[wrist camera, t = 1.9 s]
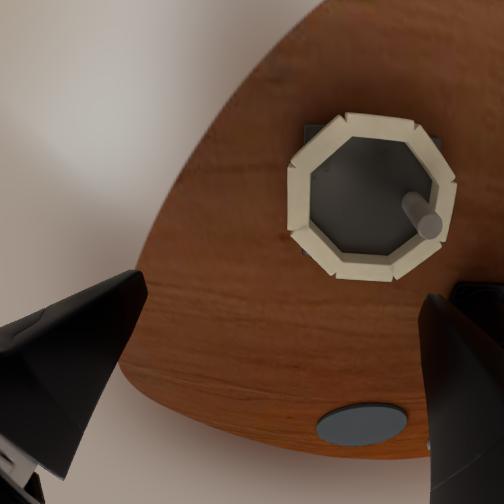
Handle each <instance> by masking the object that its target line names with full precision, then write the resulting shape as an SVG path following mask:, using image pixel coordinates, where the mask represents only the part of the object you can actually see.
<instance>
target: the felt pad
mask: <svg viewBox="0 0 504 504" xmlns="http://www.w3.org/2000/svg"><path fill="white" fill-rule="evenodd" d="M406 424H407V415H406V413H405V412H404V411H403V410H402V409H401V408H399V407H397V406H393V405H389V404H382V403H366V404H357V405H352V406H347V407H343V408H340V409H337V410H334V411H332V412H330V413H328V414H326V415H325V416H323V417H322V418H321V419H320V420H319V422H318V424H317V428H316V431H317V434H318V435H319V436H320V437H321V438H322V439H323V440H325V441H327V442H330V443H333V444H337V445H342V446H364V445H370V444H375V443H379V442H382V441H385V440H388V439H390V438H392V437H394V436H395V435H397V434H398V433H400V432H401V431H402V430H403V429H404V428H405V426H406Z"/></svg>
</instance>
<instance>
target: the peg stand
mask: <svg viewBox="0 0 504 504" xmlns="http://www.w3.org/2000/svg"><path fill="white" fill-rule="evenodd" d="M326 125H327V124H312V123H306V124H304V146H305V145H306V144H307V143H308V142H309V141H310V140H311V139H312V138H313V137H314V136H315V135H316V134H317V133H318V132H320V131H321V130H322V129H323V128H324V127H325V126H326ZM428 136H429V135H428ZM429 137H430V138H431V140H432V141H433V143H434V144H435V146H436V147H437V148H438V150H439V151H440V153H441V141H442V140H441V139H440V138H438V137H435V136H429ZM431 187H432V179H431V178H430V176H429V175H428V173H427V172H426V170H425V169H424V168H423V166H422V165H421V163H420V162H419V161H418V159H417V158H416V157H415V155H414V154H413V152H412V151H411V150H410V149H409V147H408V146H407V145H406V143H405V142H401V141H393V140H385V139H376V138H366V137H355V136H352V137H351V138H350V139H349V140H347V141H346V142H345V143H344V144H343V145H342V146H341V147H340V148H338V149H337V150H336V151H335V152H334V153H333V154H332V155H331V156H330V157H328V158H327V159H326V160H325V161H324V162H323V163H322V164H321V165H320V166H318V167H317V168H316V169H315V170H314V171H313V172H312V173H311V196H310V220H311V221H312V222H313V223H314V224H315V225H316V226H317V227H318V228H319V229H320V230H321V231H322V232H323V233H324V234H325V235H326V236H327V237H328V238H329V239H330V240H331V241H332V243H333V244H334V245H335V246H336V247H337V248H338V249H339V250H340V251H341V252H342V253H354V254H369V255H383V256H388V255H390V254H391V253H392V252H394V251H395V250H396V249H398V248H399V247H400V246H402V245H403V244H404V243H406V242H407V241H408V240H409V239H411V238H412V237H413V236H415V235H416V234H417V233H419V235H420V236H421V237H422V238H424V239H427V240H430V239H434V238H436V237H437V236H438V235H439V234H440V233H441V231H442V227H443V223H442V219H441V218H440V216H439V215H438V214H437V213H436V212H435V211H434V209H433V208H432V207H431V206H430V205H429V200H430V194H431ZM302 254H303V255H309V254H308V253H307V252H306V251H305V250H304V249H303V248H302Z"/></svg>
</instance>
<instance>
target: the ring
mask: <svg viewBox="0 0 504 504" xmlns="http://www.w3.org/2000/svg"><path fill="white" fill-rule="evenodd" d="M352 136H355V137H366V138H376V139H385V140H393V141H401V142H405V143H406V145H407V146H408V147H409V149H410V150H411V151H412V152H413V154H414V155H415V157H416V158H417V159H418V161H419V162H420V163H421V165H422V166H423V168H424V169H425V170H426V172H427V173H428V175H429V176H430V178H431V179H432V187H431V194H430V200H429V205H430V206H431V207H432V208H433V209H434V211H435V212H436V213H437V214H438V215H439V216H440V218H441V219H442V223H443V227H442V231H441V233H440V234H439V235H438V236H437V237H436V238H434V239H430V240H427V239H424V238H422V237H421V236H420V235H419V233H417V234H416V235H415V236H413V237H412V238H411V239H409V240H408V241H407V242H406V243H404V244H403V245H402V246H400V247H399V248H398V249H396V250H395V251H394V252H392V253H391V254H390V255H388V256H383V255H369V254H354V253H342V252H341V251H340V250H339V249H338V248H337V247H336V246H335V245H334V244H333V243H332V241H331V240H330V239H329V238H328V237H327V236H326V235H325V234H324V233H323V232H322V231H321V230H320V229H319V228H318V227H317V226H316V225H315V224H314V223H313V222H312V221H311V220H310V196H311V173H312V172H313V171H314V170H315V169H316V168H317V167H318V166H320V165H321V164H322V163H323V162H324V161H325V160H326V159H327V158H328V157H330V156H331V155H332V154H333V153H334V152H335V151H336V150H337V149H338V148H340V147H341V146H342V145H343V144H344V143H345V142H346V141H347V140H349V139H350V138H351V137H352ZM455 178H456V177H455V175H454V173H453V171H452V170H451V168H450V167H449V165H448V164H447V162H446V160H445V159H444V157H443V156H442V154H441V153H440V151H439V150H438V148H437V147H436V146H435V144H434V143H433V141H432V140H431V138H430V137H429V136H428V134H427V133H426V132H425V130H424V129H423V128H422V126H421V125H419V124H415V123H414V121H413V120H409V119H404V118H397V117H389V116H381V115H372V114H362V113H351V112H345V119H344V118H343V117H342V116H340V115H337V116H336V117H335V118H334V119H333V120H332V121H330V122H329V123H328V124H327V125H326V126H325V127H324V128H323V129H322V130H321V131H320V132H318V133H317V134H316V135H315V136H314V137H313V138H312V139H311V140H310V141H309V142H308V143H307V144H306V145H305V146H303V147H302V148H301V149H300V150H299V151H298V152H297V153H296V154H295V155H294V156H293V157H292V159H291V163H290V164H289V166H288V168H287V191H288V223H287V229H288V230H291V234H290V236H291V237H292V238H293V239H294V240H295V241H296V242H297V243H298V244H299V245H300V246H301V247H302V248H303V249H304V250H305V251H306V252H307V253H308V254H309V255H310V256H311V257H312V258H313V259H314V260H315V261H316V262H317V263H318V264H319V265H320V266H321V267H322V268H323V269H324V270H325V271H326V272H327V273H328V274H329V275H330V276H332V275H333V274H334V273H336V278H338V279H353V280H369V281H385V282H391V281H392V278H393V276H394V277H395V278H396V279H397V280H398V279H399V278H401V277H402V276H404V275H405V274H406V273H408V272H409V271H411V270H412V269H413V268H415V267H416V266H417V265H419V264H420V263H422V262H423V261H424V260H426V259H427V258H428V257H430V256H431V255H432V254H433V253H435V252H436V251H437V250H439V249H440V248H441V247H442V245H441V243H440V242H439V241H442V242H446V238H447V234H448V230H449V225H450V221H451V216H452V211H453V206H454V201H455V195H456V189H457V183H455V182H454V181H453V180H454V179H455Z"/></svg>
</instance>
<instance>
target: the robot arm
mask: <svg viewBox="0 0 504 504" xmlns="http://www.w3.org/2000/svg"><path fill="white" fill-rule="evenodd" d="M461 287H462V288H461ZM459 288H461V289H460V290H459ZM147 296H148V290H147V287H146V283H145V280H144V276H143V273H142V272H141V271H139V270H128V271H126V272H123V273H121V274H119V275H117V276H114V277H112V278H110V279H107V280H105V281H103V282H101V283H99V284H96V285H94V286H92V287H90V288H87V289H85V290H83V291H81V292H78V293H76V294H74V295H72V296H70V297H68V298H65V299H63V300H61V301H59V302H57V303H54V304H52V305H50V306H48V307H46V308H44V309H41V310H39V311H37V312H35V313H33V314H31V315H28V316H26V317H24V318H22V319H19V320H17V321H15V322H12V323H10V324H7V325H5V326H3V327H0V504H45V500H44V496H43V491H42V488H41V483H40V478H39V475H38V474H37V473H36V472H34V470H35V469H36V467H37V465H38V464H39V465H40V466H41V467H43V468H44V469H46V470H47V471H49V472H50V473H51V474H53V475H55V476H56V477H58V478H59V479H61V480H62V481H64V479H65V477H66V475H67V473H68V470H69V467H70V465H71V462H72V460H73V457H74V455H75V453H76V450H77V448H78V445H79V443H80V441H81V439H82V436H83V434H84V431H85V429H86V427H87V425H88V422H89V420H90V418H91V416H92V413H93V411H94V409H95V407H96V405H97V403H98V401H99V399H100V396H101V394H102V392H103V390H104V388H105V386H106V384H107V382H108V380H109V378H110V376H111V374H112V372H113V370H114V368H115V366H116V364H117V362H118V360H119V358H120V356H121V354H122V352H123V350H124V348H125V346H126V344H127V342H128V341H129V339H130V337H131V335H132V333H133V330H134V328H135V326H136V323H137V321H138V318H139V316H140V313H141V311H142V309H143V306H144V304H145V302H146V299H147ZM418 326H419V337H420V351H421V365H422V373H423V379H424V387H425V394H426V403H427V412H428V423H429V437H430V459H431V489H430V490H431V492H430V504H504V283H487V282H465V281H460V282H458V283H456V284H455V286H454V289H453V292H452V294H451V297H450V300H449V302H448V301H447V300H446V299H445V298H444V297H442V296H441V295H440V294H427V295H426V297H425V299H424V302H423V305H422V308H421V311H420V314H419V317H418Z"/></svg>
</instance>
